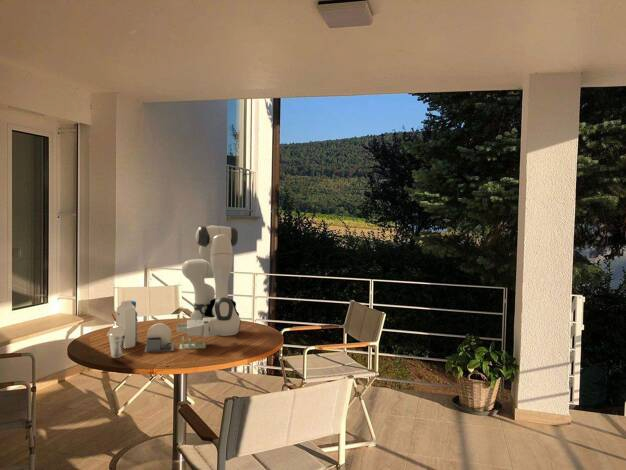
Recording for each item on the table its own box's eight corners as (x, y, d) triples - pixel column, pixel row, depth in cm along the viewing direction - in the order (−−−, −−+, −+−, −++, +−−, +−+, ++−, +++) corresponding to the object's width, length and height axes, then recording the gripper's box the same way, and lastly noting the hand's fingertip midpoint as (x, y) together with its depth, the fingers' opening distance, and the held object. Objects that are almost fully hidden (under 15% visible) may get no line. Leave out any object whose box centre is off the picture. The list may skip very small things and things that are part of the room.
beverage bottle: (131, 344, 257) (131, 303, 256) (115, 343, 258) (116, 302, 258) (140, 340, 265) (140, 300, 265) (125, 339, 267) (125, 299, 266)
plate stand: (179, 346, 254) (179, 336, 253) (205, 345, 256) (205, 335, 256) (179, 351, 245) (179, 340, 245) (205, 350, 248) (206, 339, 247)
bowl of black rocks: (235, 337, 276) (236, 301, 275) (197, 336, 276) (198, 300, 276) (241, 329, 296) (242, 296, 295) (206, 328, 296) (206, 295, 296)
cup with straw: (129, 354, 238) (129, 310, 237) (122, 359, 229) (123, 313, 228) (110, 353, 238) (110, 309, 237) (103, 359, 228) (103, 313, 228)
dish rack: (146, 346, 253) (146, 333, 253) (174, 345, 256) (174, 332, 256) (144, 354, 238) (144, 340, 238) (173, 353, 241) (174, 339, 241)
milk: (116, 347, 250) (116, 301, 249) (126, 344, 255) (126, 299, 255) (125, 349, 247) (125, 302, 246) (135, 346, 252) (135, 300, 252)
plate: (149, 348, 247) (145, 325, 246) (173, 343, 249) (169, 321, 249) (148, 349, 245) (144, 326, 244) (172, 344, 247) (169, 322, 247)
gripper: (205, 316, 262) (177, 317, 259) (207, 324, 242) (176, 325, 239) (205, 329, 262) (177, 329, 259) (207, 338, 242) (176, 339, 239)
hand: (176, 327), depth 249 cm, fingers open, 8 cm apart
